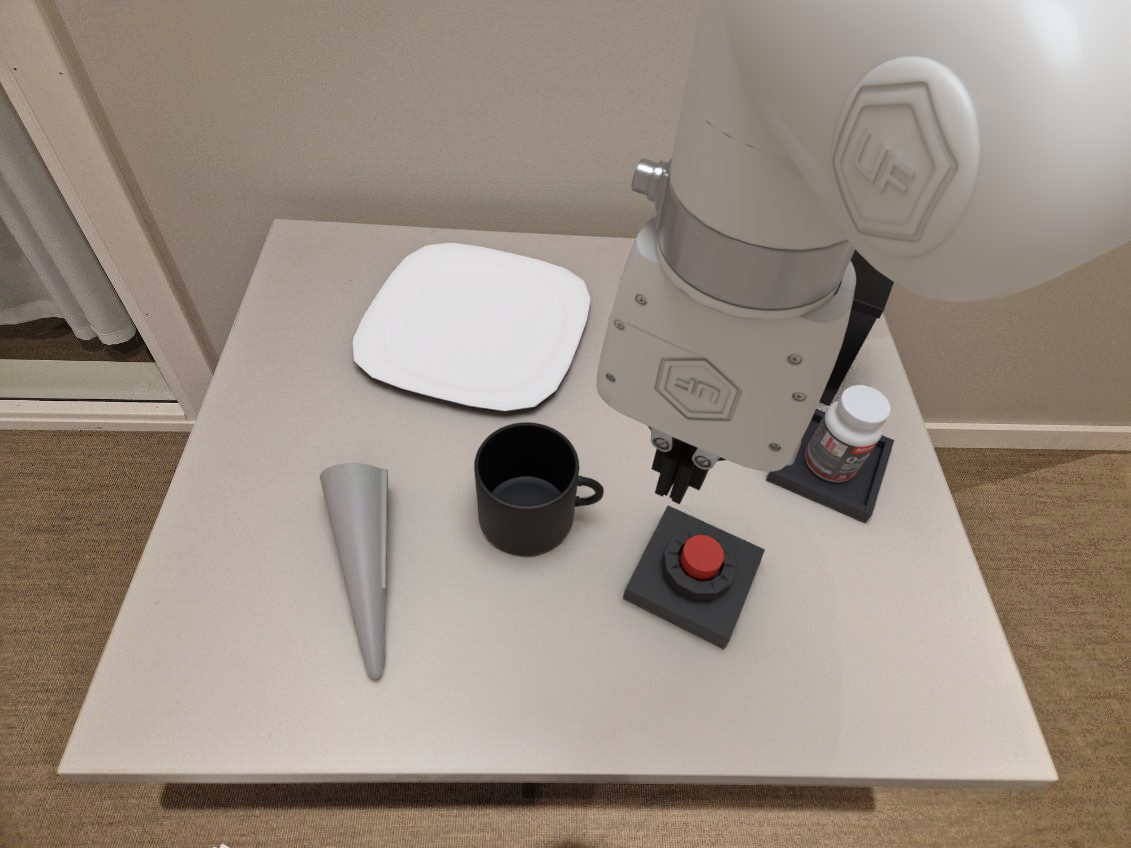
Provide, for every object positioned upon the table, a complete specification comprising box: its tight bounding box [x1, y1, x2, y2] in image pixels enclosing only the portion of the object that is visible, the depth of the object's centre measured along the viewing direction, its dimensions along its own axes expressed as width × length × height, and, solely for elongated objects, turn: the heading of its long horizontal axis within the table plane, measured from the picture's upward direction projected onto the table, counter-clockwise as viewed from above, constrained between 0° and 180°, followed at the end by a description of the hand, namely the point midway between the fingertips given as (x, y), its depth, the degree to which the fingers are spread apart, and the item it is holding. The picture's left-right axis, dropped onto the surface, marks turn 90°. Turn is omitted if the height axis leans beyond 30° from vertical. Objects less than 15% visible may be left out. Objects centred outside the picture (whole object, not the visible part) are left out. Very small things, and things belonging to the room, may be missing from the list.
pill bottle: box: [805, 384, 892, 482], centre depth 73 cm, size 6×6×10 cm
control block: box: [622, 504, 766, 650], centre depth 67 cm, size 10×10×4 cm
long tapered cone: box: [319, 462, 389, 680], centre depth 66 cm, size 6×6×19 cm
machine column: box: [819, 249, 895, 407], centre depth 80 cm, size 6×8×15 cm
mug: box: [473, 421, 605, 557], centre depth 69 cm, size 9×12×9 cm
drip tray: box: [765, 408, 895, 524], centre depth 77 cm, size 11×11×2 cm
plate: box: [352, 242, 591, 413], centre depth 87 cm, size 25×25×2 cm
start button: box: [680, 535, 724, 580], centre depth 65 cm, size 4×4×2 cm
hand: (676, 480), depth 43 cm, fingers closed
